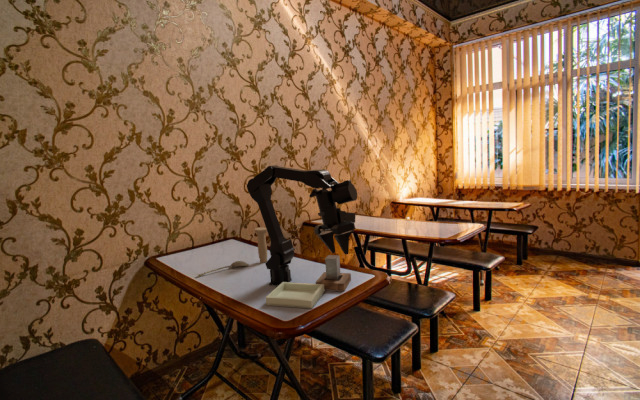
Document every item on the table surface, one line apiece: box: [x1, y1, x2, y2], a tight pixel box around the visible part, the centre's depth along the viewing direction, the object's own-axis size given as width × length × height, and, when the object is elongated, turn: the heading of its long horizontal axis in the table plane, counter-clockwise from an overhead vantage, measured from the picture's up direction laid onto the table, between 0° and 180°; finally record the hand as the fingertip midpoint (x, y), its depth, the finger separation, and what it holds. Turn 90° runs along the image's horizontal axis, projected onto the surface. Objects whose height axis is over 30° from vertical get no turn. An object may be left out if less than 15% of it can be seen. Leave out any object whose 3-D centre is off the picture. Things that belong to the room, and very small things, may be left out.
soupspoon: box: [197, 260, 250, 278], centre depth 142 cm, size 22×3×7 cm
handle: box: [254, 227, 268, 264], centre depth 149 cm, size 5×6×15 cm
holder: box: [315, 271, 352, 292], centre depth 119 cm, size 10×10×2 cm
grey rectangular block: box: [324, 254, 341, 281], centre depth 118 cm, size 4×4×10 cm
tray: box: [265, 281, 326, 310], centre depth 109 cm, size 15×13×2 cm
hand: (340, 253), depth 111 cm, fingers open, 9 cm apart
